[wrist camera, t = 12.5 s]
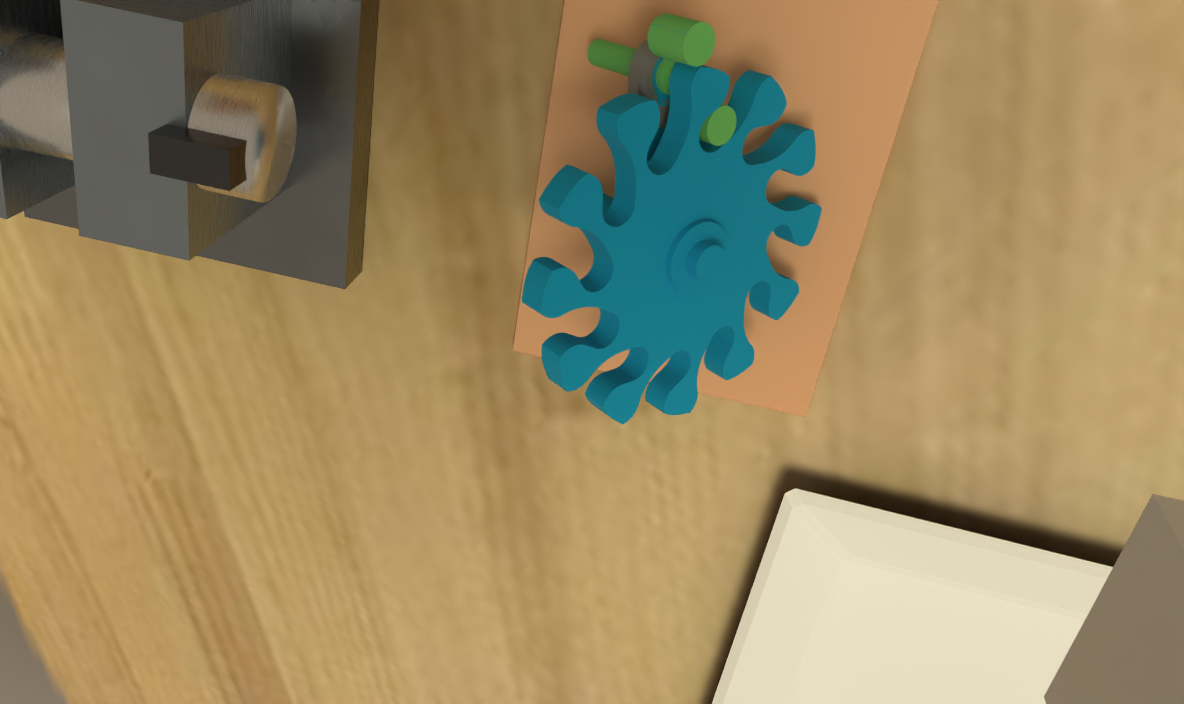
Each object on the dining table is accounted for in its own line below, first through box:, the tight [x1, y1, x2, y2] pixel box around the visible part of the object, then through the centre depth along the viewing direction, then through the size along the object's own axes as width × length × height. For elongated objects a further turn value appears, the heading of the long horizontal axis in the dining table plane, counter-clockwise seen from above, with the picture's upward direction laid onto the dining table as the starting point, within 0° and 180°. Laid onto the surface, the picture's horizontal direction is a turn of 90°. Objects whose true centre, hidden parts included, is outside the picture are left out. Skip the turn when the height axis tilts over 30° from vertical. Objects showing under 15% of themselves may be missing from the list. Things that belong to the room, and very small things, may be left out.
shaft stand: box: [0, 0, 379, 289], centre depth 28 cm, size 12×11×8 cm
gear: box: [522, 13, 822, 424], centre depth 28 cm, size 11×6×10 cm
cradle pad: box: [513, 0, 939, 417], centre depth 30 cm, size 15×10×1 cm, turn 170°
